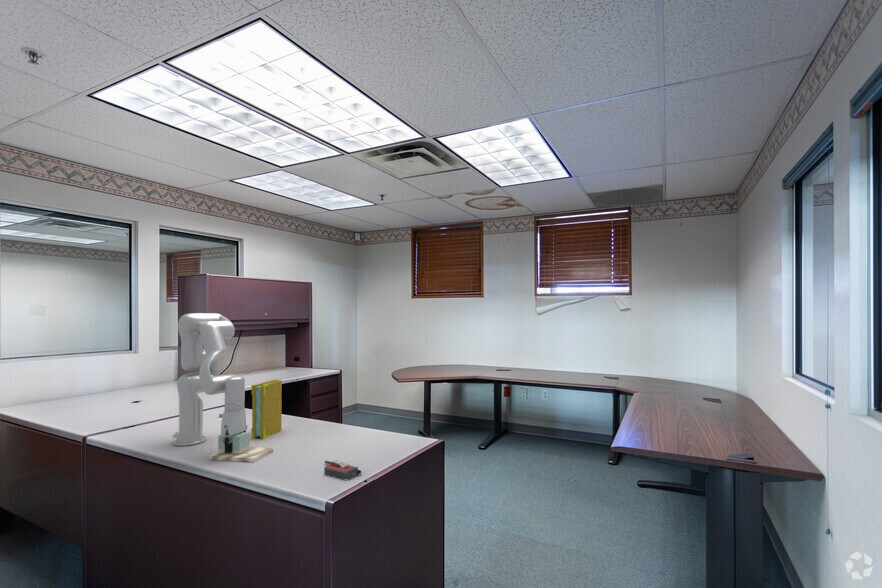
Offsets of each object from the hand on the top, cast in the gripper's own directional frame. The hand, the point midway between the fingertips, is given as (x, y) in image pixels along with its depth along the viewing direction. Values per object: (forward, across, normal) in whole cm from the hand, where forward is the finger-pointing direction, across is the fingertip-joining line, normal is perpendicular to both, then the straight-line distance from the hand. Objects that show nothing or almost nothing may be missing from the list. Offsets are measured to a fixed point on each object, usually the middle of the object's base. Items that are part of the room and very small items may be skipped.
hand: (234, 449), depth 173 cm
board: (+2, 0, +4) cm, 4 cm away
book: (+2, -31, -5) cm, 31 cm away
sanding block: (+1, 0, 0) cm, 1 cm away
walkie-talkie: (+3, +10, +51) cm, 52 cm away
